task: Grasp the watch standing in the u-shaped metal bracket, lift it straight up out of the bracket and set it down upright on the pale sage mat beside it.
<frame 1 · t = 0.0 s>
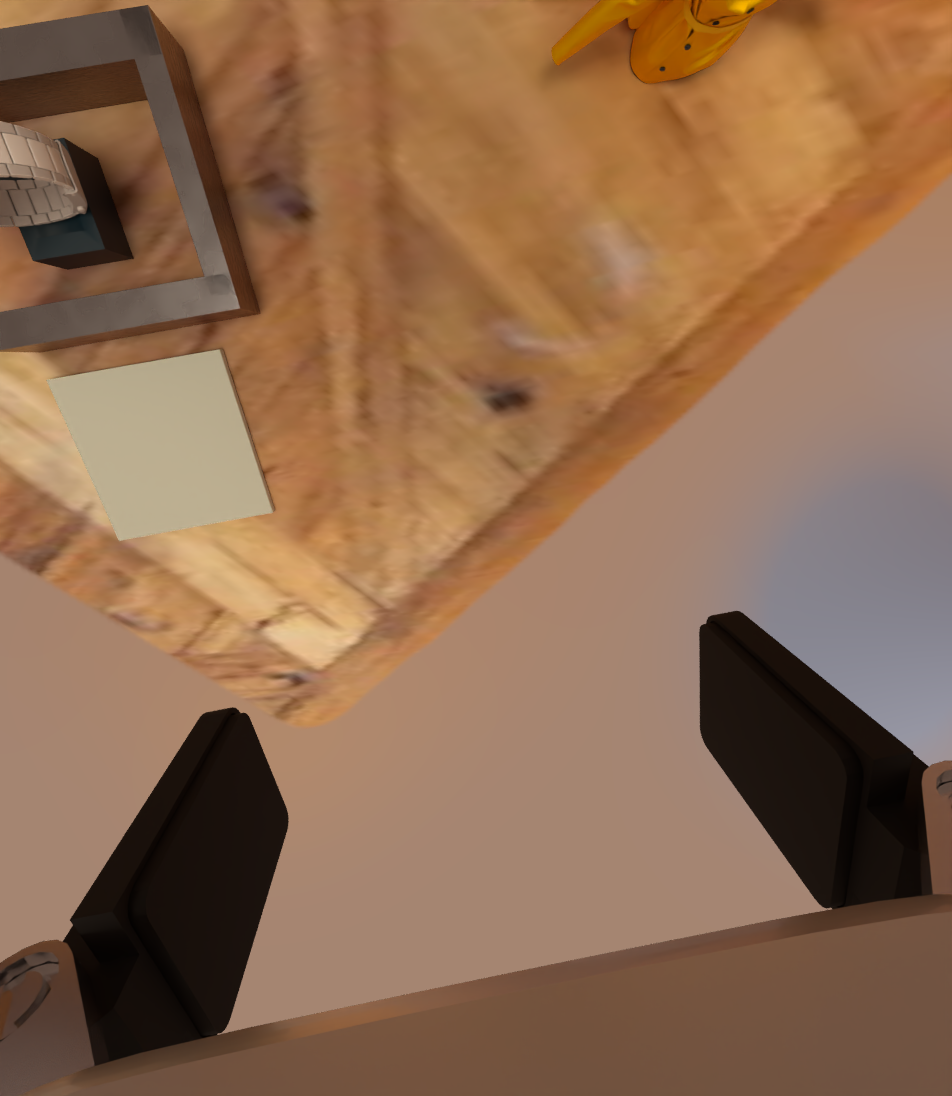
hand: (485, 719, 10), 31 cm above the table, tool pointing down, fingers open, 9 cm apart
figure statuette: (672, 18, 31), on the table
sage mat: (170, 448, 38), on the table
u-shaped metal bracket: (80, 216, 32), on the table
watch: (83, 217, 32), on the table
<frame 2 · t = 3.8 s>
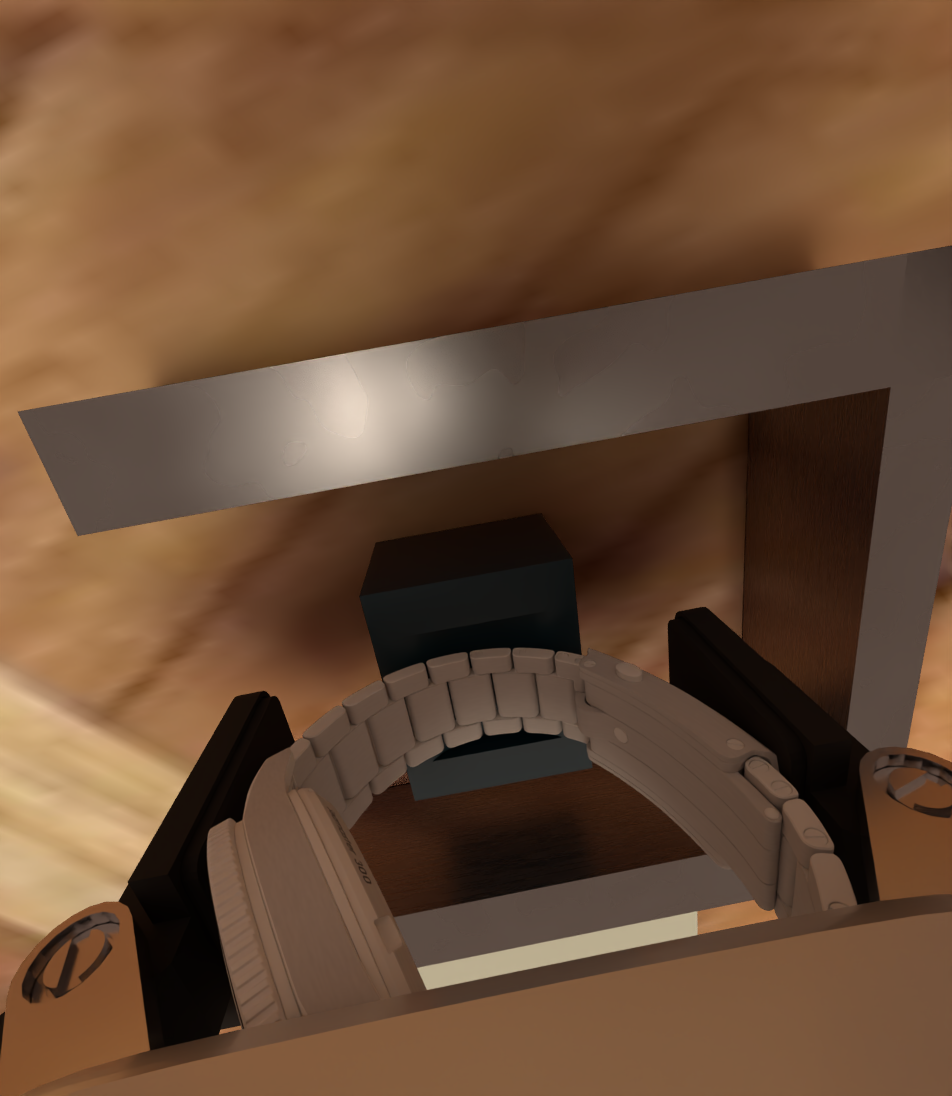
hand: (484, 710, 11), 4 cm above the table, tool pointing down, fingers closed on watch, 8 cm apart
sage mat: (537, 960, 19), on the table
u-shaped metal bracket: (472, 622, 14), on the table
watch: (471, 619, 14), on the table, touching gripper
when the fingers open (6 cm above the table, at t = 12.2 s): watch drops 2 cm, resting on sage mat.
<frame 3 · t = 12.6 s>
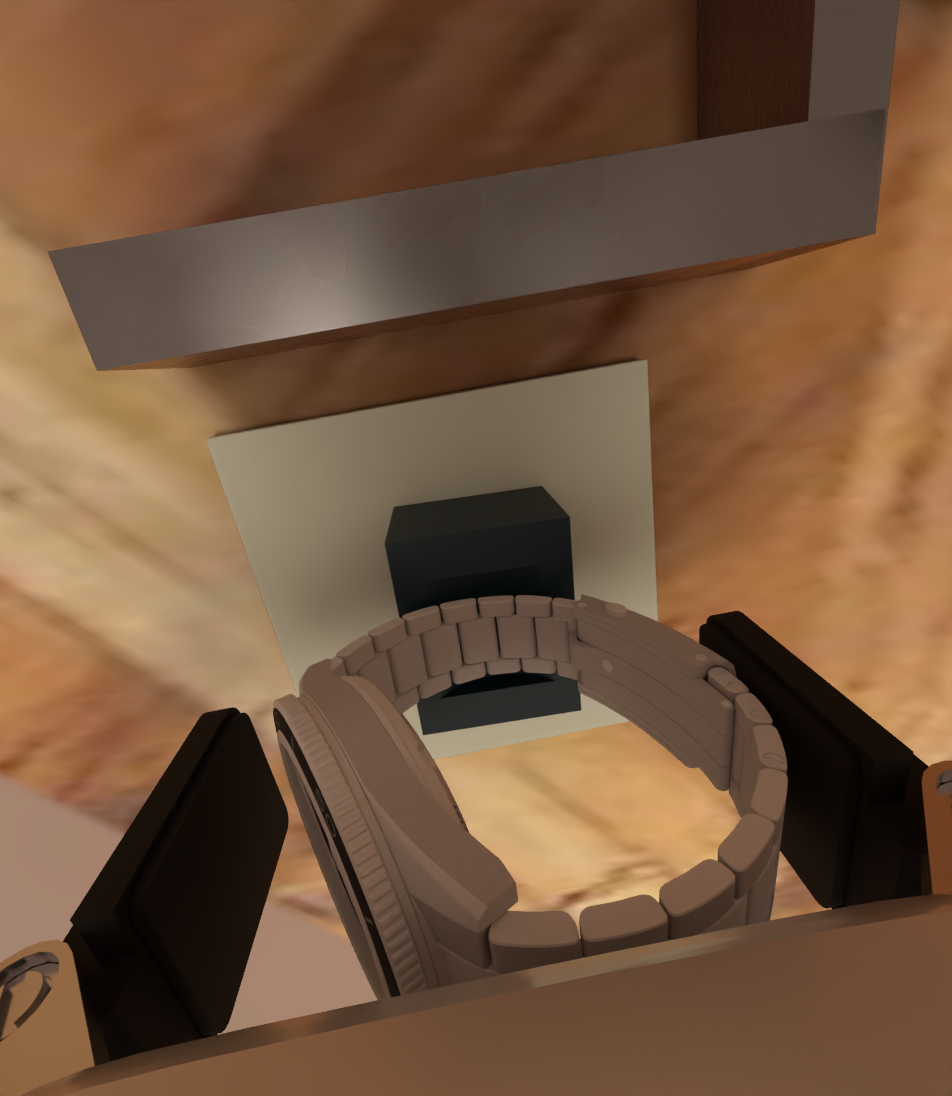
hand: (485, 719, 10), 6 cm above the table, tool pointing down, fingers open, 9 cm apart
sage mat: (465, 588, 16), on the table
watch: (476, 581, 16), resting on sage mat
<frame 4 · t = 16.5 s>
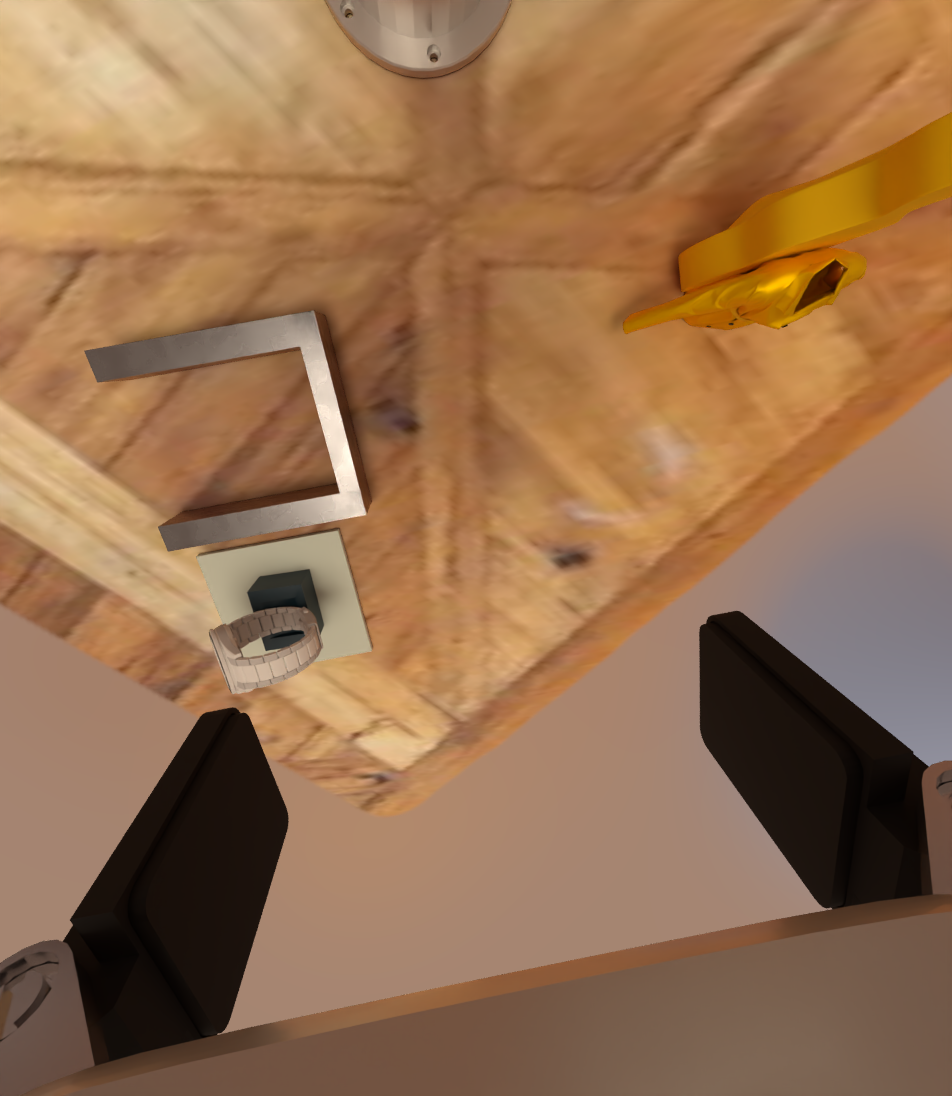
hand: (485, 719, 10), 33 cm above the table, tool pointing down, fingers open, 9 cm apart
figure statuette: (715, 279, 39), on the table
sage mat: (290, 603, 45), on the table
u-shaped metal bracket: (233, 435, 40), on the table
watch: (292, 600, 45), resting on sage mat
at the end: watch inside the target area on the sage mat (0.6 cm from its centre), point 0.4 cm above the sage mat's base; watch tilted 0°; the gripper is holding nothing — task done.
